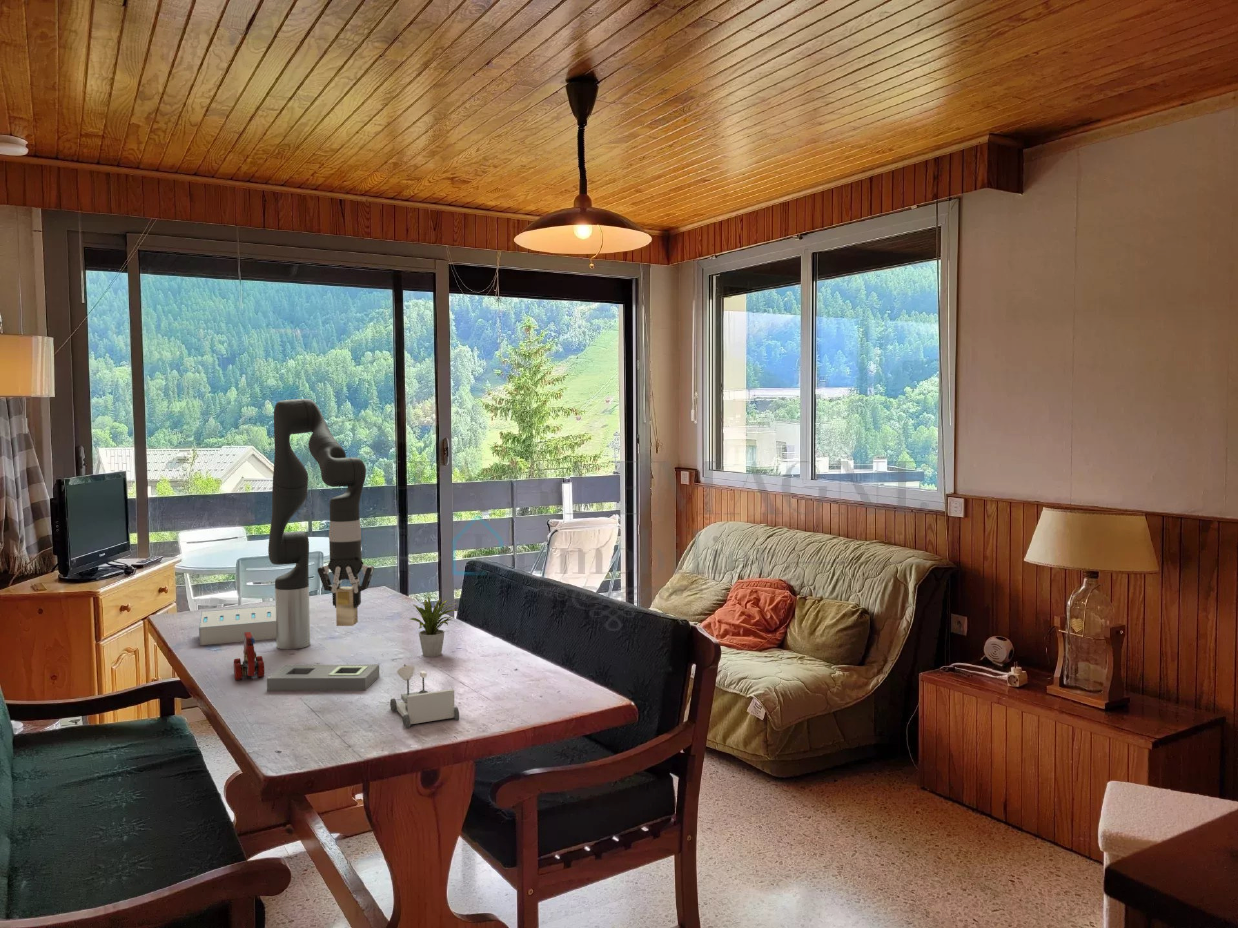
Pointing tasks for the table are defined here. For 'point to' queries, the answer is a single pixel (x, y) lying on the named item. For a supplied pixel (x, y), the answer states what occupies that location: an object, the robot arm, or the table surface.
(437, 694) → the toy car
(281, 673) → the panel
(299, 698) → the table surface
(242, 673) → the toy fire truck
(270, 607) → the warehouse
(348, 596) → the plug
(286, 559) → the robot arm
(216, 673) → the table surface
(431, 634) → the house plant
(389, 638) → the table surface
